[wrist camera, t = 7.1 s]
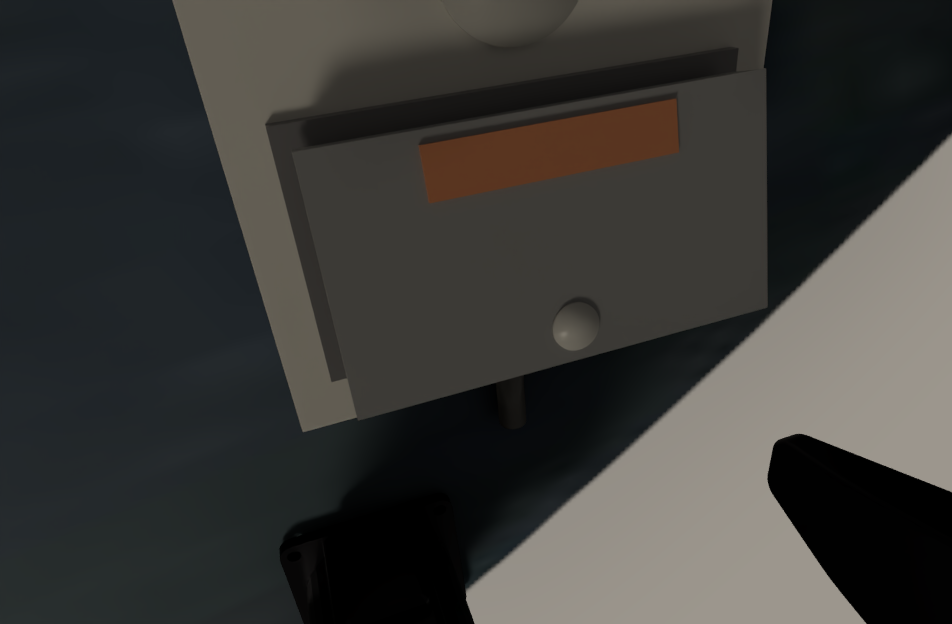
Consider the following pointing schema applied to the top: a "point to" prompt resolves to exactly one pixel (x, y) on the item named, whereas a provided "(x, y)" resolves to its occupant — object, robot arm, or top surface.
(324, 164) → the dark grey rectangular block
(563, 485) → the top surface
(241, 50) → the double rocker switch panel
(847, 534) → the robot arm
